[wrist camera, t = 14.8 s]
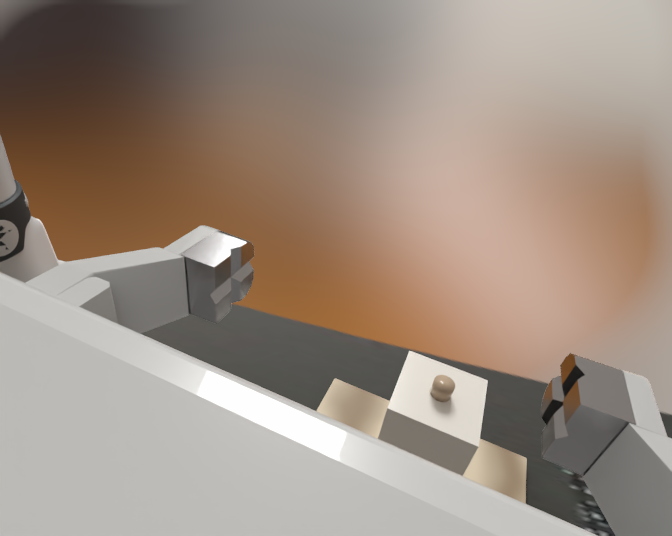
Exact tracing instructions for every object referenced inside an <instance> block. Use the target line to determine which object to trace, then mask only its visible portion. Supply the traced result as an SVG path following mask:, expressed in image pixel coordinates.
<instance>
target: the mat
mask: <svg viewBox="0 0 672 536" xmlns="http://www.w3.org/2000/svg"><path fill="white" fill-rule="evenodd" d="M389 403H390V401H388V400H386V399H383V398H381V397H379V396H376V395H374V394H371V393H369V392H367V391H364V390H362V389H359V388H357V387H355V386H352V385H350V384H348V383H345V382H343V381H340V380H338V379H336V378H335V379H334V381H333V382H332V384H331V386H330V388H329V390H328V391H327V393H326V395H325V397H324V398H323V400H322V402H321V404H320V406H319V407H318V409H317V411H316V412H319V413H321V414H323V415H326V416H328V417H330V418H332V419H335V420H337V421H339V422H341V423H344V424H346V425H348V426H350V427H353V428H355V429H357V430H359V431H362V432H364V433H366V434H368V435H371V436H373V437H375V438H378V437H379V433H380V430H381V427H382V424H383V420H384V417H385V414H386V411H387V408H388V405H389ZM526 464H527V458H525V457H522V456H520V455H518V454H515V453H513V452H511V451H508V450H506V449H503V448H501V447H499V446H496V445H494V444H491V443H489V442H487V441H484V440H482V439H480V440H479V447H478V449H477V451H476V453H475V454H474V456H473V458H472V460H471V462H470V464H469V465H468V467H467V469H466V471H465V473H464V475H463V476H464V477H466V478H468V479H470V480H473V481H475V482H477V483H479V484H482V485H484V486H486V487H488V488H491V489H493V490H495V491H498V492H500V493H502V494H504V495H507V496H509V497H511V498H513V499H516V500H518V501H520V502H522V503H525V504H526Z"/></svg>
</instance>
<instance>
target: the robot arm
mask: <svg viewBox="0 0 672 536" xmlns="http://www.w3.org/2000/svg"><path fill="white" fill-rule="evenodd" d="M253 257H254V246H253V245H252V243H251V242H249V241H247V240H244V239H241V238H239V237H236V236H233V235H230V234H228V233H225V232H222V231H219V230H217V229H214V228H211V227H208V226H199V227H198V228H196V229H195V230H193V231H191V232H190V233H188V234H186V235H185V236H183V237H182V238H180V239H178V240H177V241H175V242H173V243H172V244H170V245H169V246H167V247H165V248H164V249H162V248H159V247H157V248H151V249H145V250H138V251H132V252H126V253H120V254H113V255H107V256H100V257H94V258H88V259H82V260H75V261H69V262H64V261H61V260H57V257H56V255H55V253H54V250H53V247H52V245H51V243H50V240H49V238H48V235H47V233H46V231H45V228H44V226H43V224H42V222H41V221H40V220H39V219H36V218H34V217H32V216H31V215H30V211H29V207H28V201H27V198H26V195H25V194H24V192H23V190H22V187H21V185H20V184H19V182H17V181H16V180H14V177H13V174H12V171H11V168H10V164H9V161H8V158H7V155H6V152H5V149H4V145H3V142H2V139H1V136H0V536H597V535H595V534H593V533H590V532H588V531H586V530H584V529H581V528H579V527H577V526H575V525H572V524H570V523H568V522H566V521H563V520H561V519H559V518H556V517H554V516H552V515H550V514H547V513H545V512H543V511H541V510H538V509H536V508H534V507H532V506H529V505H527V504H525V503H522V502H520V501H518V500H516V499H513V498H511V497H509V496H507V495H504V494H502V493H500V492H498V491H495V490H493V489H491V488H488V487H486V486H484V485H482V484H479V483H477V482H475V481H473V480H470V479H468V478H466V477H464V476H461V475H459V474H457V473H454V472H452V471H450V470H448V469H445V468H443V467H441V466H439V465H436V464H434V463H432V462H430V461H427V460H425V459H423V458H421V457H418V456H416V455H414V454H411V453H409V452H407V451H405V450H402V449H400V448H398V447H396V446H393V445H391V444H389V443H387V442H384V441H382V440H380V439H378V438H375V437H373V436H371V435H368V434H366V433H364V432H362V431H359V430H357V429H355V428H353V427H350V426H348V425H346V424H344V423H341V422H339V421H337V420H335V419H332V418H330V417H328V416H326V415H323V414H321V413H319V412H316V411H314V410H312V409H310V408H307V407H305V406H303V405H301V404H298V403H296V402H294V401H292V400H289V399H287V398H285V397H283V396H280V395H278V394H276V393H273V392H271V391H269V390H267V389H264V388H262V387H260V386H258V385H255V384H253V383H251V382H248V381H246V380H244V379H242V378H239V377H237V376H235V375H232V374H230V373H228V372H226V371H223V370H221V369H219V368H216V367H214V366H212V365H210V364H207V363H205V362H203V361H201V360H198V359H196V358H194V357H191V356H189V355H187V354H185V353H182V352H180V351H178V350H175V349H173V348H171V347H169V346H167V345H164V344H162V343H160V342H158V341H155V340H153V339H151V338H149V337H146V336H144V335H142V334H141V333H143V332H146V331H148V330H151V329H154V328H156V327H159V326H162V325H164V324H167V323H169V322H172V321H175V320H177V319H180V318H183V317H185V316H188V315H189V314H191V315H194V316H197V317H199V318H202V319H205V320H207V321H210V322H213V323H215V324H217V323H218V322H219V321H220V320H221V319H222V318H223V317H224V316H225V315H226V314H227V313H228V312H229V311H230V310H231V303H234V302H237V301H240V300H242V299H243V298H244V297H245V296H246V295H247V293H248V291H249V289H250V287H251V285H252V281H253V273H254V270H253V268H252V266H251V264H250V262H249V261H250V260H251V259H252V258H253ZM560 366H561V376H558V377H556V378H553V379H552V380H551V381H550V383H549V385H548V387H547V388H546V391H545V394H544V397H543V399H542V406H541V418H542V419H543V421H544V422H545V424H546V427H545V428H544V430H543V431H542V433H541V439H542V458H544V459H546V460H548V461H551V462H553V463H555V464H557V465H560V466H562V467H564V468H566V469H569V470H571V471H573V472H576V473H578V474H580V475H582V476H583V479H584V481H585V483H586V484H587V486H588V488H589V490H590V491H591V493H592V495H593V497H594V498H595V500H596V502H597V504H598V505H599V507H600V509H601V511H602V512H603V514H604V516H605V518H606V519H607V521H608V523H609V525H610V527H611V528H612V530H613V532H614V534H615V535H616V536H672V439H671V438H668V437H667V434H666V431H665V428H664V425H663V422H662V419H661V416H660V413H659V410H658V407H657V404H656V401H655V398H654V394H653V392H652V388H651V385H650V382H649V381H648V380H647V379H646V378H645V377H643V376H640V375H637V374H634V373H630V372H627V371H624V370H621V369H616V368H613V367H610V366H607V365H604V364H601V363H598V362H595V361H592V360H589V359H586V358H583V357H580V356H577V355H574V354H571V353H570V354H569V355H568V356H567V357H566V358H565V359H564V361H563V362H562V364H561V365H560Z"/></svg>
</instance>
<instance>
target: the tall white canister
mask: <svg viewBox="0 0 672 536" xmlns="http://www.w3.org/2000/svg"><path fill="white" fill-rule="evenodd" d="M487 383H488V380H485V379H482V378H480V377H477V376H475V375H472V374H469V373H467V372H464V371H461V370H459V369H456V368H454V367H451V366H448V365H446V364H443V363H440V362H438V361H435V360H433V359H430V358H427V357H425V356H422V355H419V354H417V353H414V352H412V351H409V353H408V356H407V359H406V361H405V364H404V366H403V369H402V372H401V374H400V377H399V379H398V382H397V384H396V387H395V390H394V392H393V395H392V397H391V400H390V403H389V405H388V408H387V411H386V414H385V417H384V420H383V424H382V427H381V430H380V433H379V437H378V439H380V440H382V441H384V442H387V443H389V444H391V445H393V446H396V447H398V448H400V449H402V450H405V451H407V452H409V453H411V454H414V455H416V456H418V457H421V458H423V459H425V460H427V461H430V462H432V463H434V464H436V465H439V466H441V467H443V468H445V469H448V470H450V471H452V472H454V473H457V474H459V475H461V476H463V475H464V473H465V471H466V469H467V467H468V465H469V464H470V462H471V460H472V458H473V456H474V454H475V453H476V451H477V449H478V447H479V440H480V433H481V426H482V419H483V412H484V404H485V397H486V390H487Z"/></svg>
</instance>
